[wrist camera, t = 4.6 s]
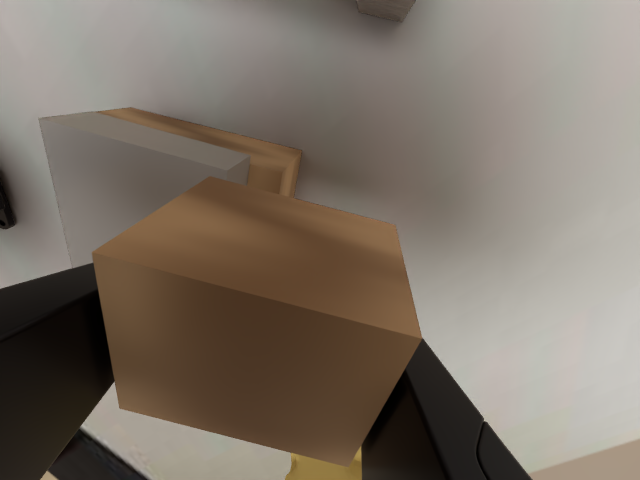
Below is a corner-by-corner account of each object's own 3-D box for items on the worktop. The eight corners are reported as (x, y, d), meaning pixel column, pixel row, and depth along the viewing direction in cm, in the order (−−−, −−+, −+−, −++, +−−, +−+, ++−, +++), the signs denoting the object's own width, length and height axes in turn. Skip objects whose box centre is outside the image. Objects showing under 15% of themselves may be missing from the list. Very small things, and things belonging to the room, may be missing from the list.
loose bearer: (204, 292, 10) (119, 407, 6) (209, 176, 8) (91, 252, 4) (352, 331, 10) (348, 467, 6) (395, 225, 8) (422, 338, 4)
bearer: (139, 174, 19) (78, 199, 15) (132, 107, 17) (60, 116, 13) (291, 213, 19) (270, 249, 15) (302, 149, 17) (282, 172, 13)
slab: (117, 289, 18) (83, 318, 16) (92, 111, 13) (38, 118, 11) (231, 321, 18) (212, 354, 15) (250, 155, 13) (227, 170, 11)
